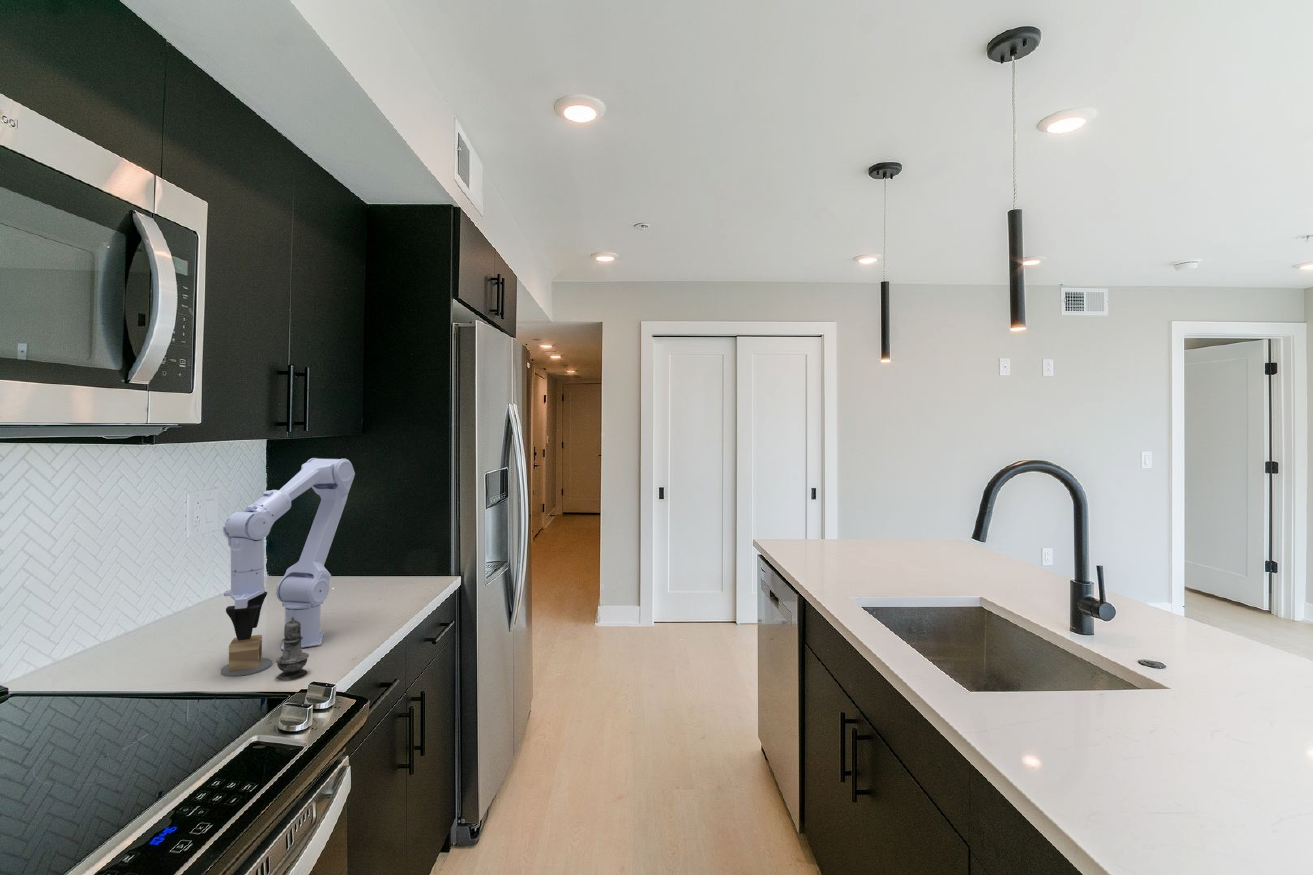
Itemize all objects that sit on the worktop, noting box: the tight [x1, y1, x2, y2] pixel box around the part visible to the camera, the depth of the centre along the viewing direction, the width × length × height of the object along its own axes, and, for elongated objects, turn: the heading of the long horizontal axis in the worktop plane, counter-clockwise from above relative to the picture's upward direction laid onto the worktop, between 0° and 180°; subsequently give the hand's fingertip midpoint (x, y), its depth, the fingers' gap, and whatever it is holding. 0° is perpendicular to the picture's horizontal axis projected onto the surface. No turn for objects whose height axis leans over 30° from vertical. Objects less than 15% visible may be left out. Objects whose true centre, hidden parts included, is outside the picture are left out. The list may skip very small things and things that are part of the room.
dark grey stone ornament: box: [275, 617, 310, 681], centre depth 122 cm, size 6×6×12 cm
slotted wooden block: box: [228, 634, 263, 672], centre depth 125 cm, size 5×5×6 cm
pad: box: [220, 657, 274, 677], centre depth 125 cm, size 9×9×1 cm
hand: (247, 633), depth 125 cm, fingers open, 7 cm apart
